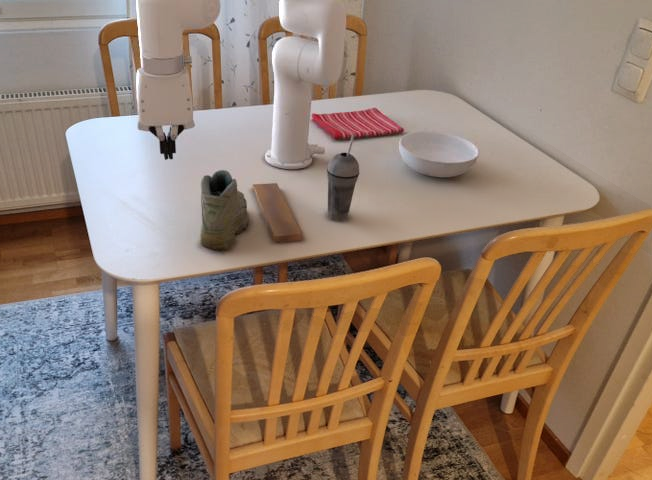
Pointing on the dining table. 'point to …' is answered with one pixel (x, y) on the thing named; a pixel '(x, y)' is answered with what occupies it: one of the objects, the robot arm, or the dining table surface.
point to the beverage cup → (341, 184)
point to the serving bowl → (437, 153)
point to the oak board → (276, 213)
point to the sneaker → (221, 211)
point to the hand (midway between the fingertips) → (168, 156)
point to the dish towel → (356, 124)
